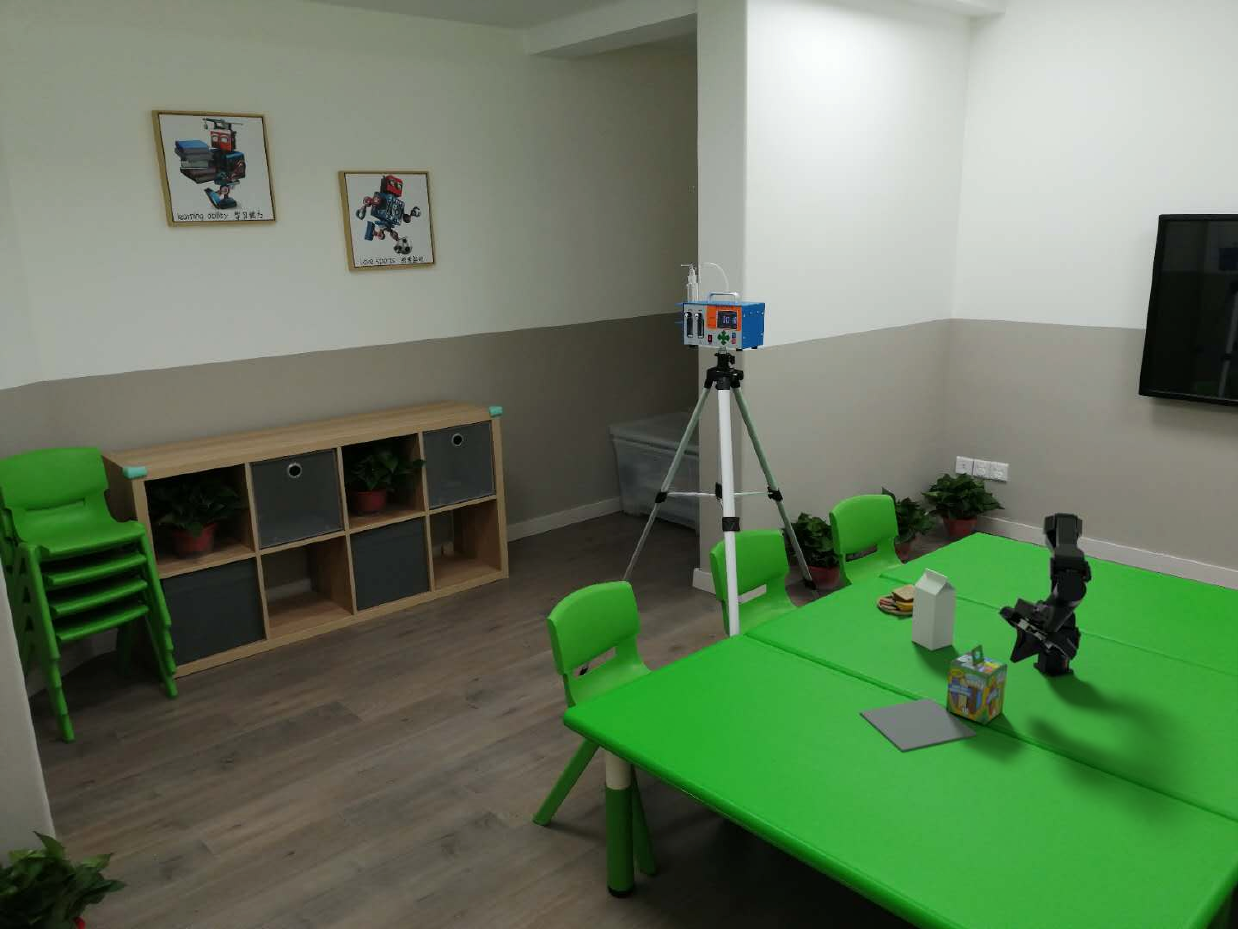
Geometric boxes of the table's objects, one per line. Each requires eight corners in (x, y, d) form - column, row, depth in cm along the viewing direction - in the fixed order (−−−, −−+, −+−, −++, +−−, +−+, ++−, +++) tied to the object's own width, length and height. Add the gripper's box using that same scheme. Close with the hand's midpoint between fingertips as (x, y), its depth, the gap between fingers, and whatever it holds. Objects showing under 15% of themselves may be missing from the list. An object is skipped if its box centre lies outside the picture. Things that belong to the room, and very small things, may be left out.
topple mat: (930, 699, 211) (930, 697, 210) (976, 735, 196) (976, 733, 196) (859, 713, 205) (859, 711, 205) (902, 751, 191) (902, 749, 191)
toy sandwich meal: (868, 601, 264) (869, 585, 263) (912, 596, 267) (913, 580, 266) (890, 619, 253) (891, 603, 251) (936, 613, 255) (937, 597, 254)
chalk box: (984, 726, 198) (991, 661, 195) (944, 710, 205) (950, 647, 201) (1004, 712, 205) (1011, 649, 201) (964, 697, 211) (970, 636, 208)
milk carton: (931, 651, 233) (936, 580, 228) (910, 640, 239) (915, 570, 234) (952, 645, 236) (957, 574, 231) (931, 634, 242) (936, 565, 237)
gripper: (1008, 571, 210) (963, 624, 210) (1071, 602, 193) (1022, 660, 193) (1034, 599, 215) (990, 651, 214) (1098, 632, 197) (1050, 688, 197)
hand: (1011, 661), depth 204 cm, fingers closed
